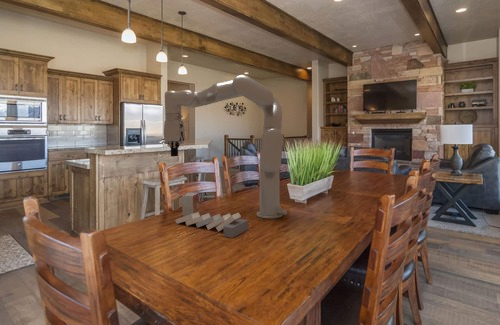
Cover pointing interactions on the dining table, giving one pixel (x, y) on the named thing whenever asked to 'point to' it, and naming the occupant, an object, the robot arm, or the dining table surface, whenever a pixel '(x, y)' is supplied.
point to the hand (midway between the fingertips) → (174, 156)
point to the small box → (190, 203)
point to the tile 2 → (197, 219)
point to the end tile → (187, 217)
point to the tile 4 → (218, 221)
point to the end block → (235, 228)
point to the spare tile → (208, 220)
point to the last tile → (228, 221)
